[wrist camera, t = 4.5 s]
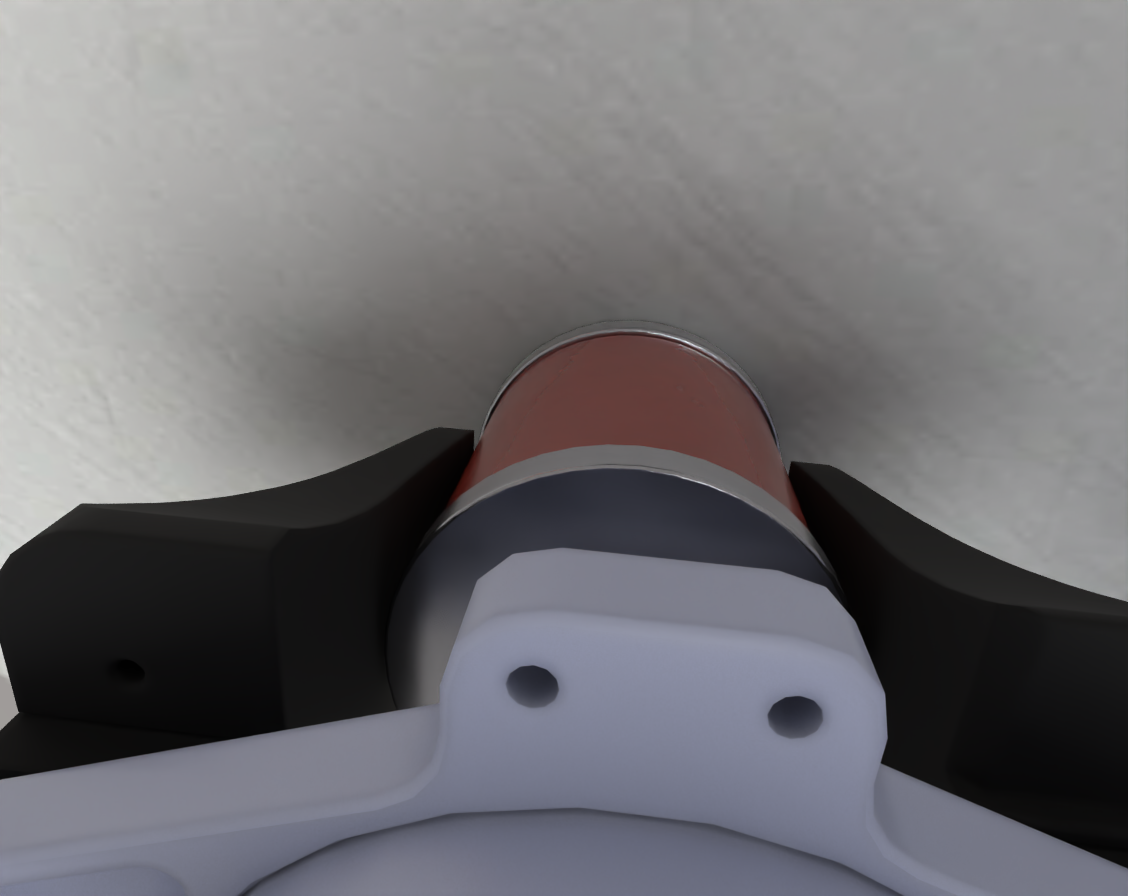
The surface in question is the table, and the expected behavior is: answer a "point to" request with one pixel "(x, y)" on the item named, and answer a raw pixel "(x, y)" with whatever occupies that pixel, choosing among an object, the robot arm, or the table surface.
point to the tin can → (604, 481)
